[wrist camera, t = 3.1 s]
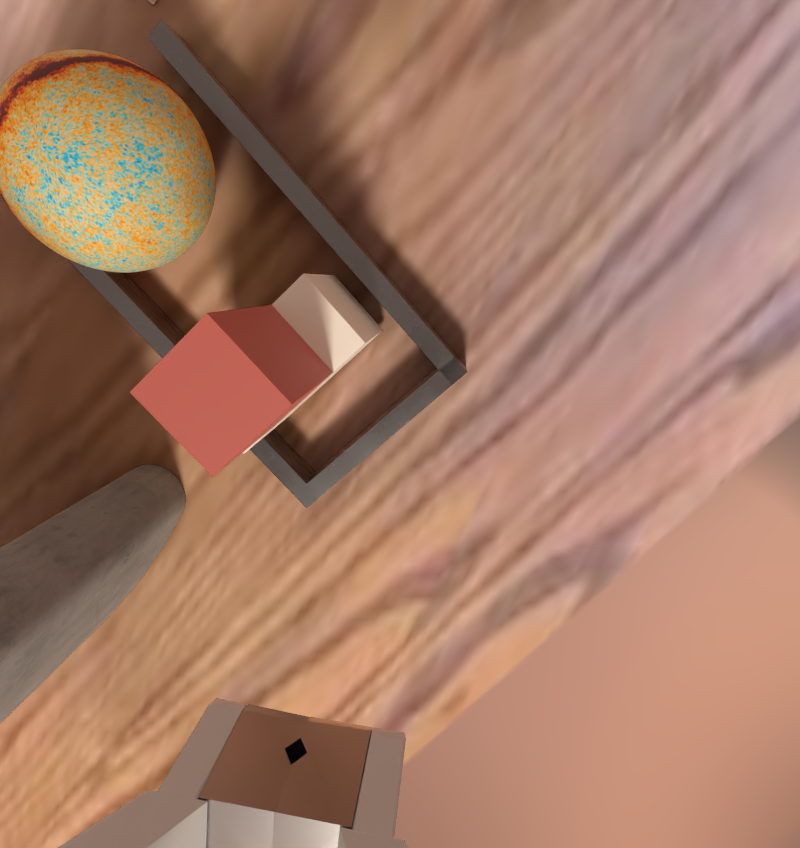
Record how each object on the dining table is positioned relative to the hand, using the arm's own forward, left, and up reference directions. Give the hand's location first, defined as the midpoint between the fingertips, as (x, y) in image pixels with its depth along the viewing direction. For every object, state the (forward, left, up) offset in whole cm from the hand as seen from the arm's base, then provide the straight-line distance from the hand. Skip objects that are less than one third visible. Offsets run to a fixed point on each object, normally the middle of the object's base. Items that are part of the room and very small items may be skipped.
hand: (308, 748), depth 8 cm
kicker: (0, +6, -17) cm, 18 cm away
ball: (0, +15, -17) cm, 22 cm away
